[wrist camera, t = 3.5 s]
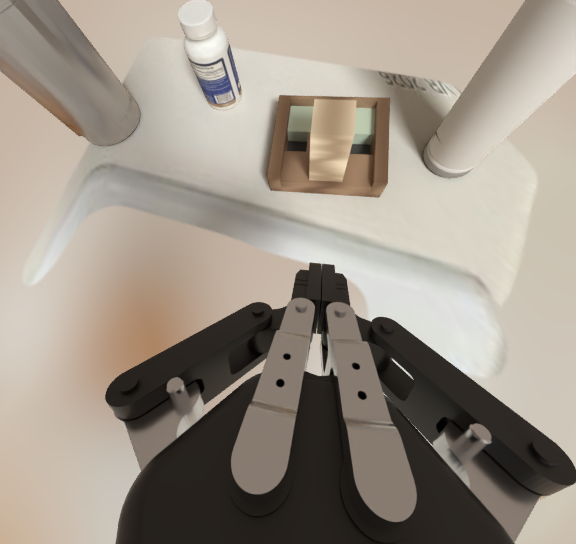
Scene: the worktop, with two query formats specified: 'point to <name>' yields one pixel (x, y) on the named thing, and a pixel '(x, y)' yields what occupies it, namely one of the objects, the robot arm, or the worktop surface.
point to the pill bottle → (210, 54)
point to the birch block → (331, 138)
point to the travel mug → (507, 86)
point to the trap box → (362, 159)
